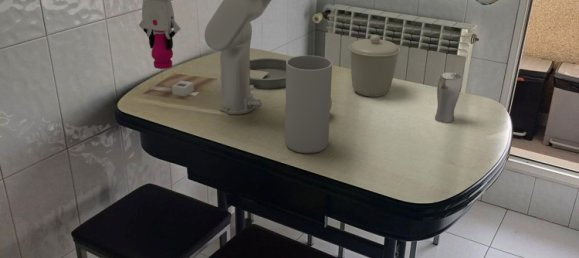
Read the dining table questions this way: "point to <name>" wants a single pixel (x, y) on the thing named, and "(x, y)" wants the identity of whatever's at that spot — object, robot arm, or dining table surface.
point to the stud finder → (183, 88)
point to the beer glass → (447, 96)
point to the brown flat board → (166, 85)
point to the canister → (373, 65)
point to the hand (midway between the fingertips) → (161, 47)
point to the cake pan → (275, 69)
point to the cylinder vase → (308, 103)
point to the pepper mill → (161, 50)
